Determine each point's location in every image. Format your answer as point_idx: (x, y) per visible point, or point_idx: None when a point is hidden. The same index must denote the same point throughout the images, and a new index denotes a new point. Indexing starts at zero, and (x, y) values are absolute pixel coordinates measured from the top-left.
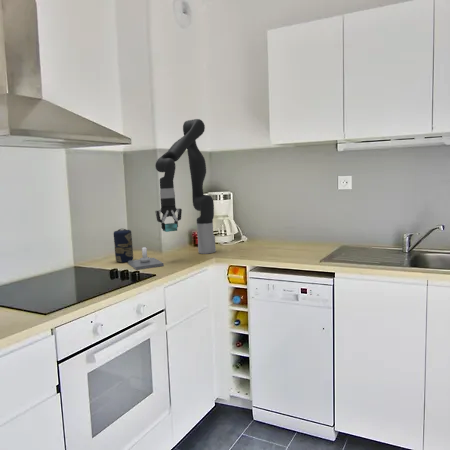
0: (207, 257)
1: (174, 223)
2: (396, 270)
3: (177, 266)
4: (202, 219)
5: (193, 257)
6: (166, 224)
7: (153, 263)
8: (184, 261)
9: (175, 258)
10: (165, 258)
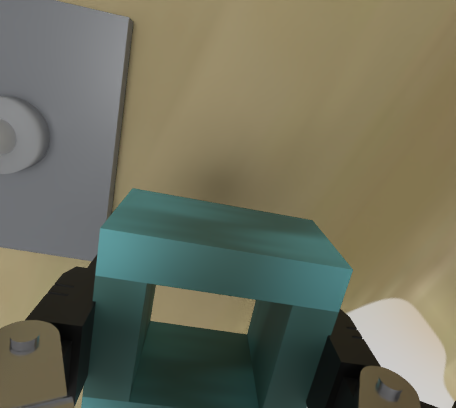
0: (421, 241)
1: (311, 364)
2: None
3: (161, 317)
4: None
5: (374, 172)
6: (133, 361)
7: (44, 225)
8: None
9: (280, 100)
10: (231, 33)
